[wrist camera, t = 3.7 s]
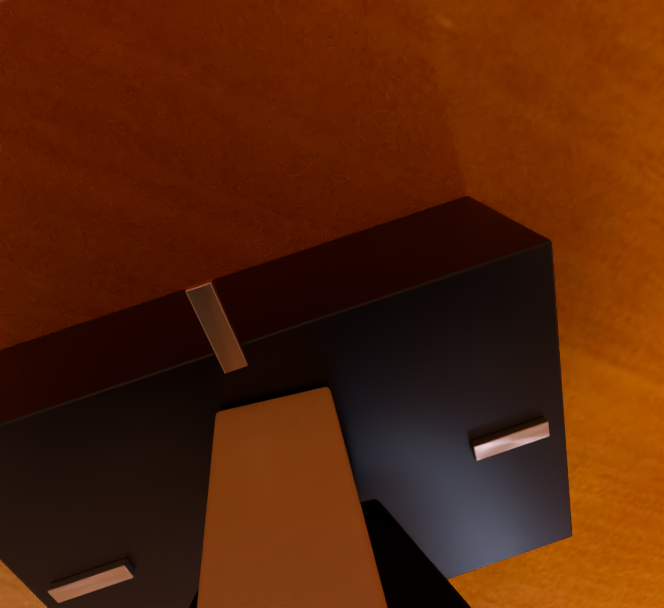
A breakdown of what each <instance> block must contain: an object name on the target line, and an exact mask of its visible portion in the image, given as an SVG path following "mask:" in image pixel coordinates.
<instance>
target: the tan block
mask: <svg viewBox="0 0 664 608" xmlns="http://www.w3.org/2000/svg"><path fill="white" fill-rule="evenodd" d="M197 608H388V607H387V604H386V600H385V596H384V592H383V588H382V585H381V581H380V577H379V573H378V569H377V565H376V562H375V558H374V554H373V550H372V546H371V543H370V539H369V535H368V531H367V527H366V523H365V520H364V516H363V512H362V508H361V504H360V501H359V497H358V493H357V489H356V485H355V481H354V478H353V474H352V470H351V466H350V462H349V459H348V455H347V451H346V447H345V443H344V439H343V436H342V432H341V428H340V424H339V420H338V417H337V413H336V409H335V405H334V401H333V397H332V394H331V391H330V389H329V388H328V387H322V388H318V389H313V390H309V391H305V392H300V393H296V394H292V395H287V396H283V397H278V398H274V399H270V400H265V401H261V402H257V403H252V404H248V405H244V406H239V407H235V408H231V409H226V410H222V411H219V412H217V413H216V417H215V427H214V437H213V447H212V458H211V468H210V478H209V488H208V499H207V509H206V519H205V529H204V540H203V550H202V560H201V571H200V581H199V591H198V601H197Z"/></svg>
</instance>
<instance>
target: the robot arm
mask: <svg viewBox="0 0 664 608" xmlns="http://www.w3.org/2000/svg"><path fill="white" fill-rule="evenodd" d="M360 504H361V508H362V512H363V516H364V520H365V523H366V527H367V531H368V535H369V539H370V543H371V546H372V550H373V554H374V558H375V562H376V565H377V569H378V573H379V577H380V581H381V585H382V588H383V592H384V596H385V600H386V604H387V607H388V608H471V607H470V606H469V605H468V603H467V602H466V601H465V600H464V599H463V598H462V596H461V595H460V594H459V593H458V592H457V591H456V589H455V588H454V587H453V586H452V585H451V584H450V582H449V581H448V580H447V579H446V578H445V577H444V575H443V574H442V573H441V572H440V571H439V570H438V568H437V567H436V566H435V565H434V564H433V563H432V561H431V560H430V559H429V558H428V557H427V556H426V554H425V553H424V552H423V551H422V550H421V549H420V547H419V546H418V545H417V544H416V543H415V542H414V540H413V539H412V538H411V537H410V536H409V535H408V533H407V532H406V531H405V530H404V529H403V528H402V526H401V525H400V524H399V523H398V522H397V521H396V519H395V518H394V517H393V516H392V515H391V514H390V512H389V511H388V510H387V509H386V508H385V506H384V505H383V504H382V503H381V502H380V501H379V500H377V499H372V500H368V501H364V502H360ZM198 591H199V588H198V590H197V592H196V594H195V596H194V598H193V600H192V602H191V604H190V606H189V608H197V601H198Z"/></svg>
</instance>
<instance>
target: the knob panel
mask: <svg viewBox="0 0 664 608" xmlns="http://www.w3.org/2000/svg"><path fill="white" fill-rule="evenodd" d="M322 387H328V388H329V389H330V391H331V394H332V397H333V401H334V405H335V409H336V413H337V417H338V420H339V424H340V428H341V432H342V436H343V439H344V443H345V447H346V451H347V455H348V459H349V462H350V466H351V470H352V474H353V478H354V481H355V485H356V489H357V493H358V497H359V501H360V502H364V501H368V500H372V499H377V500H379V501H380V502H381V503H382V504H383V505H384V506H385V508H386V509H387V510H388V511H389V512H390V514H391V515H392V516H393V517H394V518H395V519H396V521H397V522H398V523H399V524H400V525H401V526H402V528H403V529H404V530H405V531H406V532H407V533H408V535H409V536H410V537H411V538H412V539H413V540H414V542H415V543H416V544H417V545H418V546H419V547H420V549H421V550H422V551H423V552H424V553H425V554H426V556H427V557H428V558H429V559H430V560H431V561H432V563H433V564H434V565H435V566H436V567H437V568H438V570H439V571H440V572H441V573H442V574H443V575H444V577H445V578H446V579H449V578H452V577H455V576H458V575H461V574H464V573H467V572H470V571H472V570H475V569H478V568H481V567H484V566H487V565H490V564H493V563H496V562H499V561H502V560H504V559H507V558H510V557H513V556H516V555H519V554H522V553H525V552H528V551H531V550H534V549H536V548H539V547H542V546H545V545H548V544H551V543H554V542H557V541H560V540H563V539H566V538H568V537H571V536H572V525H571V510H570V496H569V481H568V467H567V452H566V438H565V424H564V409H563V395H562V380H561V366H560V351H559V337H558V322H557V308H556V293H555V279H554V264H553V250H552V242H551V240H549V239H547V238H545V237H544V236H542V235H540V234H538V233H536V232H534V231H533V230H531V229H529V228H527V227H525V226H523V225H521V224H520V223H518V222H516V221H514V220H512V219H510V218H508V217H507V216H505V215H503V214H501V213H499V212H497V211H495V210H494V209H492V208H490V207H488V206H486V205H484V204H483V203H481V202H479V201H477V200H475V199H473V198H471V197H470V196H466V197H463V198H460V199H457V200H454V201H451V202H448V203H445V204H442V205H439V206H436V207H433V208H430V209H427V210H424V211H421V212H418V213H415V214H412V215H409V216H406V217H403V218H400V219H397V220H394V221H391V222H388V223H385V224H382V225H379V226H376V227H373V228H369V229H366V230H363V231H360V232H357V233H354V234H351V235H348V236H345V237H342V238H339V239H336V240H333V241H330V242H327V243H324V244H321V245H318V246H315V247H312V248H309V249H306V250H303V251H300V252H297V253H294V254H291V255H288V256H285V257H282V258H279V259H276V260H273V261H270V262H267V263H264V264H261V265H257V266H254V267H251V268H248V269H245V270H242V271H239V272H236V273H233V274H230V275H227V276H224V277H221V278H218V279H215V280H212V279H208V280H205V281H202V282H199V283H196V284H193V285H190V286H187V287H186V289H185V290H182V291H179V292H176V293H173V294H170V295H167V296H164V297H161V298H158V299H155V300H152V301H149V302H145V303H142V304H139V305H136V306H133V307H130V308H127V309H124V310H121V311H118V312H115V313H112V314H109V315H106V316H103V317H100V318H97V319H94V320H91V321H88V322H85V323H82V324H79V325H76V326H73V327H70V328H67V329H64V330H61V331H58V332H55V333H52V334H49V335H46V336H43V337H40V338H37V339H33V340H30V341H27V342H24V343H21V344H18V345H15V346H12V347H9V348H6V349H3V350H0V560H1V561H2V562H3V563H4V564H5V565H6V566H7V567H8V568H9V569H10V570H11V571H12V572H13V573H14V574H15V575H16V576H17V577H18V578H19V579H20V580H21V581H22V582H23V583H24V584H25V585H26V586H27V587H28V588H29V589H30V590H31V591H32V592H33V593H34V594H35V595H36V596H37V597H38V598H39V599H40V600H41V602H42V603H43V604H44V605H45V606H46V607H47V608H189V606H190V604H191V602H192V600H193V598H194V596H195V594H196V592H197V590H198V588H199V581H200V571H201V560H202V550H203V540H204V529H205V519H206V509H207V499H208V488H209V478H210V468H211V458H212V447H213V437H214V427H215V417H216V413H217V412H219V411H222V410H226V409H231V408H235V407H239V406H244V405H248V404H252V403H257V402H261V401H265V400H270V399H274V398H278V397H283V396H287V395H292V394H296V393H300V392H305V391H309V390H313V389H318V388H322Z"/></svg>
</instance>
